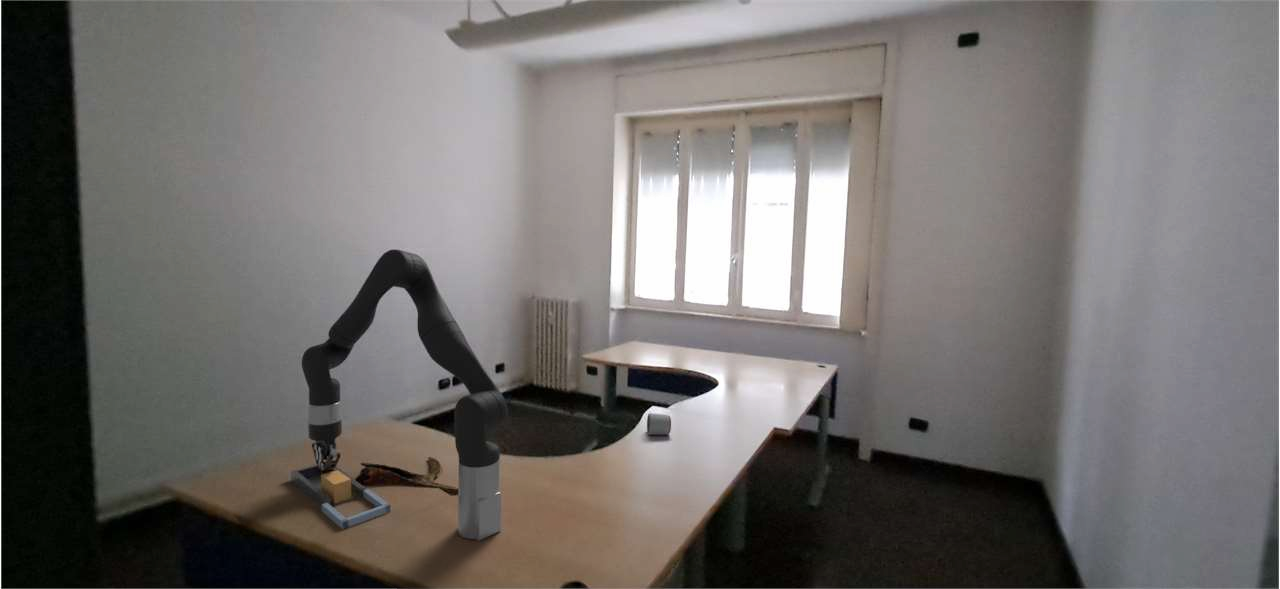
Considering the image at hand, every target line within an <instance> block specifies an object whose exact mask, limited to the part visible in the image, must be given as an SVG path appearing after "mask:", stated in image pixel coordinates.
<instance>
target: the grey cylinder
mask: <svg viewBox="0 0 1280 589" xmlns="http://www.w3.org/2000/svg"><path fill="white" fill-rule="evenodd" d="M671 431H672V418H671V416H670V415H668V414H662V413H652V412H651V413H650V412H649V413H648V414H647V419H646V432H647V435H649V436H667V435H670V433H671Z"/></svg>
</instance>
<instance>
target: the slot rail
mask: <svg viewBox="0 0 1280 589" xmlns="http://www.w3.org/2000/svg"><path fill="white" fill-rule="evenodd" d="M336 470H338V471H340V472H341V473H342V474H344V475H346V476H347V477H348V478H350V479H351V498H350V499H347V500H344V501H341V502H338V503H335V504H334V503H333V502H332V501H331V499H330V497H328V496H327V495H326V494H325V493H323V492H322V491H321V472H320V469H319V464H318V465H317V464H314V465H310V466H306V467H302V468H299V469H294V470H292V471H290V481H291V482H292V483H293V484H295V486H297V487H298V489H300V490H302V492H304V493H305V494H306V495H307V496H309V497H310V499H312V500H313V501H314V502H316V503H317V504H318V505H319V506H320V507H321V508H322V504H324V503H328V504H329V505H331V506H332V507H333V508H335V507H336V508H337V507H339V506H341V505H344V504H347V503H350V502H353V501H357V500H359V499H362V498H364V497H363V491H364V490H366V487H365V486H364V484H362V485H361V484H360V483H358V482H357V481H355V480H356V479H354V478H352V477H351V476H350V475H349V474H347V473H345V472H344V471H343V470H342V469H340V468H338V467H337V466H336V468H333V469H332V471H336Z"/></svg>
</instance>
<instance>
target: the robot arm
mask: <svg viewBox="0 0 1280 589" xmlns="http://www.w3.org/2000/svg"><path fill="white" fill-rule="evenodd" d="M437 286H438V285H437V284H436V281H435V278H434V277H433V274H432V271H431V270H430V268H429V265H428V264H427V262H426V261H425V260H424V259H423V258H422V257H421V256H420V255H418V254H416V253H412V252H408V251H404V250H401V249H394V248H393V249H389V250H387V251H386V252H384V253H383V254H382V255H381V256H380V257H379V258H378V260H377V261H376V263H375V265H374V266H373V268H372V269H371V271H370V273H369V275H368V276H367V277H366V279H365V281H364V283H363V284H362V286H361V288H360V289H359V291H358V293H357V294H356V296H355V297H354V299H353V300H352V301H351V303H350V305H349V306H348V307H347V308H346V310H345V311H343V313H342V314H341V316H339V317H338V319H337V320H336V321H335V322H334V323H333V325H332V326H331V327H330V328H329V330H328V334H327V335H328V337H329V338H328V339H327V340H326V341H325V342H323V343H320V344H317V345H312V346H310V347H308V348H307V349H306V350H305V351H304V352H303V354H302V357H301V368H302V372H303V375H304V378H305V381H306V384H307V387H308V410H307V417H308V418H307V419H308V420H307V422H308V423H307V425H308V439H309V440H312V441H314V442H313V443H311V447H312V452H313V456H314V459H315V465H318V464H319V469H320V472H321V475H322V474H325V473H329V472H332V469H333V468H336V467H337V466H338V463H339V461H340V459H341V452H336V450H337V443H336V439H337V438H339V437H340V436H341V435H342V434H343V433H342V432H343V430H342V429H343V428H342V427H343V423H342V420H343V418H342V417H343V415H342V412H343V411H342V403H341V384H340V381H339V380H338V379H336V378H333V377H332V376H331V373H330V372H331V370H332V369H335V368H337V367H339V366H340V365H342V363H344V362H345V361H346V359H347V358H348V357H349V355H350V354H351V352H352V350H353V348H354V346H355V344H356V343H357V342H358V341H359V340H360V339H361V338H362V336H364V335H365V333H366V332H367V331H368V330H369V328H370V327H371V326H372V324H373V323H374V319H375V316H376V312H377V309H378V308H377V307H378V304H379V302H380V301H381V300H382V298H383V297H384V295H385V294H386V293H388V291H390V290H391V289H393V287H394V288H399V289H401V288H402V289H404V291H406V292H407V294H408V295H409V296H410V298H411V300H412V302H413V303H414V306H415V308H416V311H417V323H416V324H417V325H416V326H417V333H418V337H419V339H420V341H421V342H422V345H423V347H424V348H425V350H426V352H427V354H428V356H429V357H430V358H431V360H433V361H434V362H435V364H437V365H438V366H440V367H441V368H442V369H444V370H445V371H447V372H448V373H449V374H451V375H453V376H454V377H456V379H458V380H459V381H460V382H461V383H462V384H463V385H464V387H465V388H466V390H467V391H468V393H469V394H467V395H465V396H462V397H460V398H459V399H458V400H457V403H455V408H454V412H453V415H454V417H453V419H454V420H453V421H454V422H453V424H454V442H455V449H456V452H457V455H458V488H459V493H458V494H457V496H458V498H457V499H458V504H457V506H458V511H457V512H458V515H457V516H458V517H457V518H458V521H457V522H458V524H457V532H458V535H460V537H463V538H465V539H469V540H476V541H478V542H480V541H482V540H484V539H486V538H488V537H490V536H492V535H495V534H497V533H499V532H501V531H502V529H501V528H502V527H501V526H502V525H501V524H502V492H500V461H501V460H500V457H501V456H500V455H501V453H500V451H501V450H500V447H499V445H498V444H496V443H494V442H491V441H487V440H486V439H487V438H486V432H487V431H491V430H493V429H495V428H498V427H499V426H502V425H503V424H504V423H506V421H507V419H508V416H509V409H508V405H507V401H506V398H505V397H504V396H503V393H502V392H501V391H500V389H499V388H498V386H497V384H496V383H495V382H494V381H493V380H492V378H491V377H490V376H489V374H488V372H487V371H486V370H485V368H484V367H483V365H482V364H481V362H480V361H479V358H477V356H476V354H475V352H474V351H473V349H472V348H471V346H470V344H469V343H468V340H467V338H466V337H465V334H464V333H463V331H462V329H461V328H460V326H459V324H458V323H457V321H456V319H455V318H454V316H453V314H452V312H451V311H450V309H449V307H448V305H447V303H446V302H445V300H444V298H443V296H442V295H441V293H440V291H439V289H438V287H437Z"/></svg>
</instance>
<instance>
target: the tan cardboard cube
mask: <svg viewBox="0 0 1280 589" xmlns="http://www.w3.org/2000/svg"><path fill="white" fill-rule="evenodd" d="M341 475H344V474H342V473H341V472H340V471H338V470H336V471H332V472H329V473H325V474H322V475H321V491H322V492H323V493H325V494H326V495H327V496H328V479H331V478H335V477H338V476H341Z"/></svg>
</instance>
